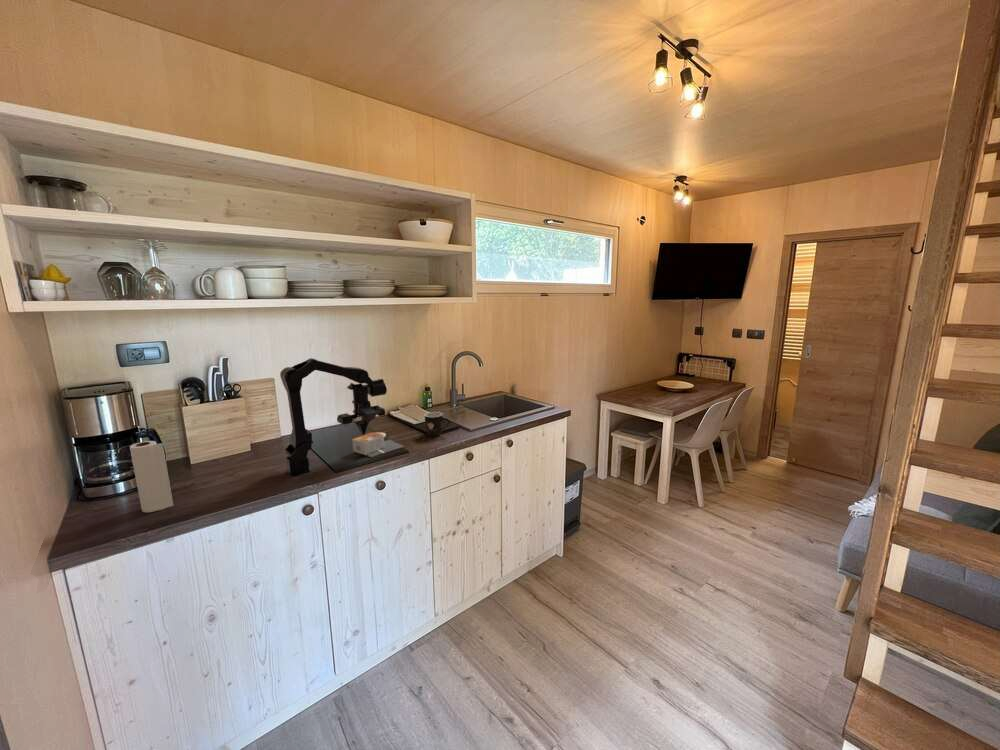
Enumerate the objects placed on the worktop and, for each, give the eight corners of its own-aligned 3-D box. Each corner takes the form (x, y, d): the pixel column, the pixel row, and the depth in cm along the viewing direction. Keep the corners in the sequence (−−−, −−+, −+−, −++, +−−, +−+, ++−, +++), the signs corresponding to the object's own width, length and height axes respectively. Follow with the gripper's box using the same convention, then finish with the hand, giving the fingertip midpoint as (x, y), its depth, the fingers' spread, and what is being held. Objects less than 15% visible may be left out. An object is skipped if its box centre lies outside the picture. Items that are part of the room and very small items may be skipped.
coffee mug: (421, 434, 191) (420, 414, 189) (435, 430, 198) (434, 410, 196) (437, 440, 184) (436, 419, 182) (451, 435, 190) (450, 415, 188)
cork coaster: (371, 441, 183) (371, 440, 183) (362, 436, 189) (362, 435, 189) (389, 436, 189) (389, 435, 189) (379, 431, 195) (379, 430, 195)
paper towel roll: (137, 510, 124) (125, 445, 120) (160, 501, 129) (149, 439, 125) (151, 515, 121) (138, 449, 117) (173, 506, 126) (162, 442, 122)
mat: (370, 458, 164) (370, 456, 164) (356, 450, 172) (356, 448, 172) (404, 447, 175) (404, 446, 175) (389, 440, 183) (389, 439, 183)
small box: (351, 439, 168) (371, 431, 177) (352, 451, 169) (372, 443, 178) (364, 442, 164) (384, 434, 172) (365, 455, 165) (385, 447, 174)
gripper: (347, 406, 151) (350, 445, 154) (391, 397, 165) (393, 433, 168) (335, 401, 159) (338, 438, 162) (377, 393, 172) (379, 427, 175)
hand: (363, 434), depth 166 cm, fingers closed
